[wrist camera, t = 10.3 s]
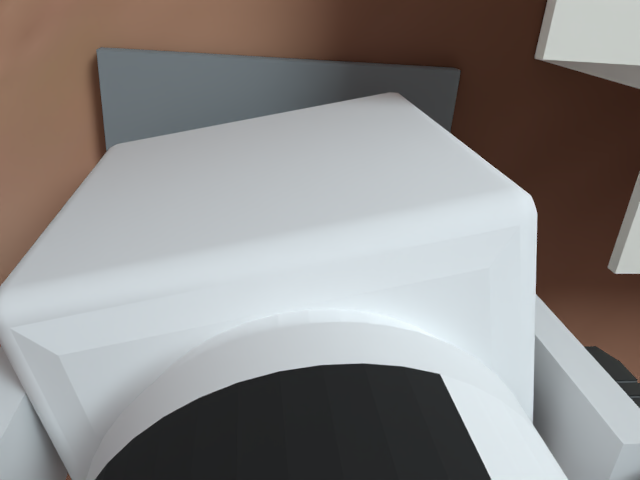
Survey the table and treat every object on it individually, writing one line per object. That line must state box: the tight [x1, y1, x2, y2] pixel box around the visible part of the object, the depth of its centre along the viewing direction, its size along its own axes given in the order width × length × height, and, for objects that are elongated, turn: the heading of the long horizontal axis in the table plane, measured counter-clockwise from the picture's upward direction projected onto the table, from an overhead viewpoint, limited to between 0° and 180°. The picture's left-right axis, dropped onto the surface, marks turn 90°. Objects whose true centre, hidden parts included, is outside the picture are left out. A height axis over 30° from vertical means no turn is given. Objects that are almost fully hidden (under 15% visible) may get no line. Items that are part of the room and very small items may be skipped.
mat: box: [97, 47, 461, 151], centre depth 17 cm, size 10×10×1 cm
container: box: [0, 92, 568, 480], centre depth 10 cm, size 8×8×13 cm
